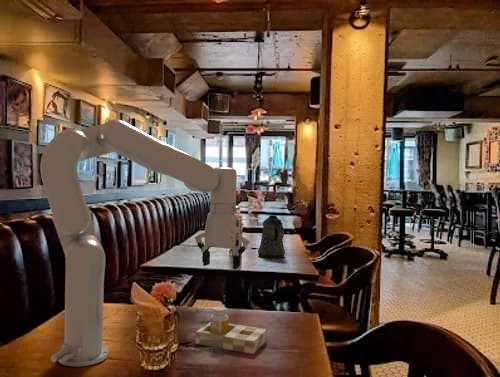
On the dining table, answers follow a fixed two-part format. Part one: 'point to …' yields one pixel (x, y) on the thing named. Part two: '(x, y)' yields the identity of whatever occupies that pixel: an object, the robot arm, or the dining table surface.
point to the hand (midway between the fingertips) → (220, 266)
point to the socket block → (233, 338)
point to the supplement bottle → (219, 320)
